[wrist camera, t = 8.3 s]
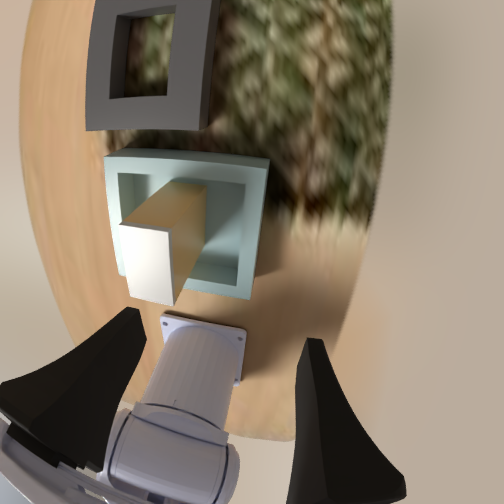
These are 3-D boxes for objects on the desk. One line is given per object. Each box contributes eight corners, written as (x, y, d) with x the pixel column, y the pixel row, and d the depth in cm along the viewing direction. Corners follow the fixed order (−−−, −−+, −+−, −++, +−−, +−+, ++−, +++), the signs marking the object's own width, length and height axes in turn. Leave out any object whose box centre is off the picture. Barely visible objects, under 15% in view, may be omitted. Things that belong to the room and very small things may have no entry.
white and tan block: (204, 245, 20) (173, 306, 14) (170, 239, 20) (130, 296, 14) (206, 185, 17) (168, 232, 12) (169, 181, 17) (118, 224, 12)
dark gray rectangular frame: (207, 126, 16) (198, 130, 14) (100, 126, 16) (85, 131, 15) (223, -16, 11) (215, -26, 9) (110, 1, 11) (96, -4, 10)
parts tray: (254, 278, 21) (249, 300, 19) (133, 257, 22) (119, 274, 20) (270, 159, 16) (266, 169, 14) (123, 147, 17) (103, 156, 15)
